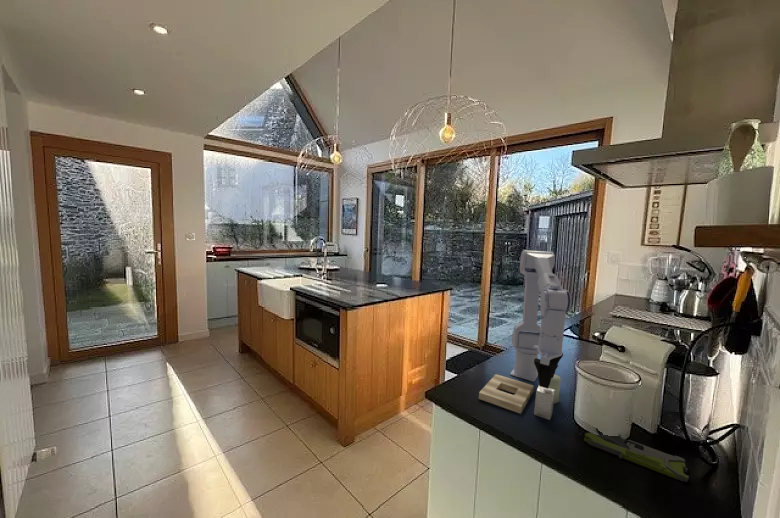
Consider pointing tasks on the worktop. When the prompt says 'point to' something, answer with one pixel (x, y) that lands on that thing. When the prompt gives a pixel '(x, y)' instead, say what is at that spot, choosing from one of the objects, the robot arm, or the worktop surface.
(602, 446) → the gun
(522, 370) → the robot arm
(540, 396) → the square peg
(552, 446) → the worktop surface
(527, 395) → the socket board
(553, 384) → the round peg
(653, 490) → the worktop surface
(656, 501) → the worktop surface
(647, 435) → the worktop surface
